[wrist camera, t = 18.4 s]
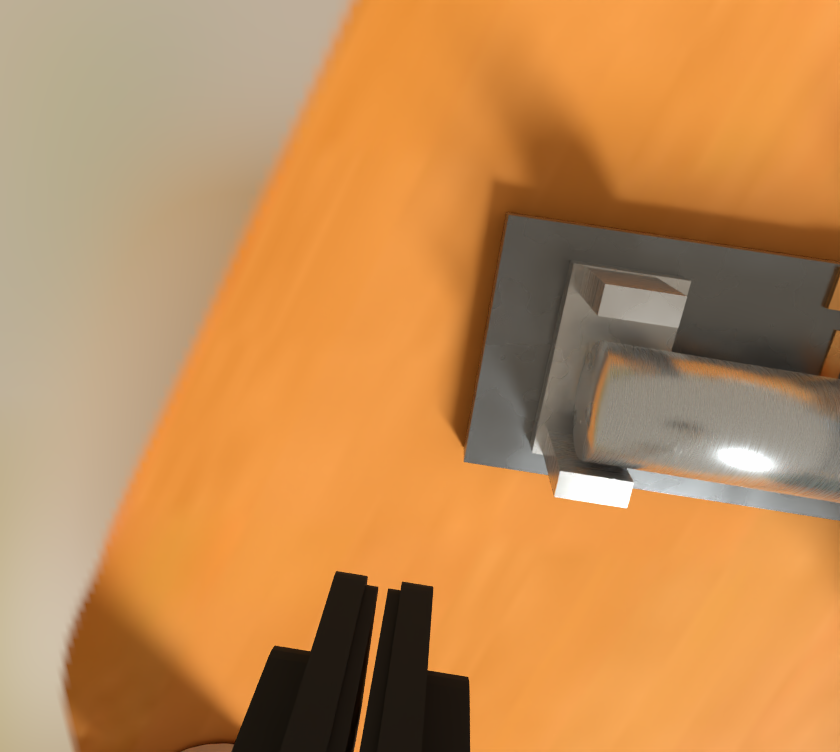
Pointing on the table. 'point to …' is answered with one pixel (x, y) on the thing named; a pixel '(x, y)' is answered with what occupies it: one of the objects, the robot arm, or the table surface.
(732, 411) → the banded metal cylinder
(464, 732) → the robot arm
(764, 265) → the cylinder mounting fixture
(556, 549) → the table surface
